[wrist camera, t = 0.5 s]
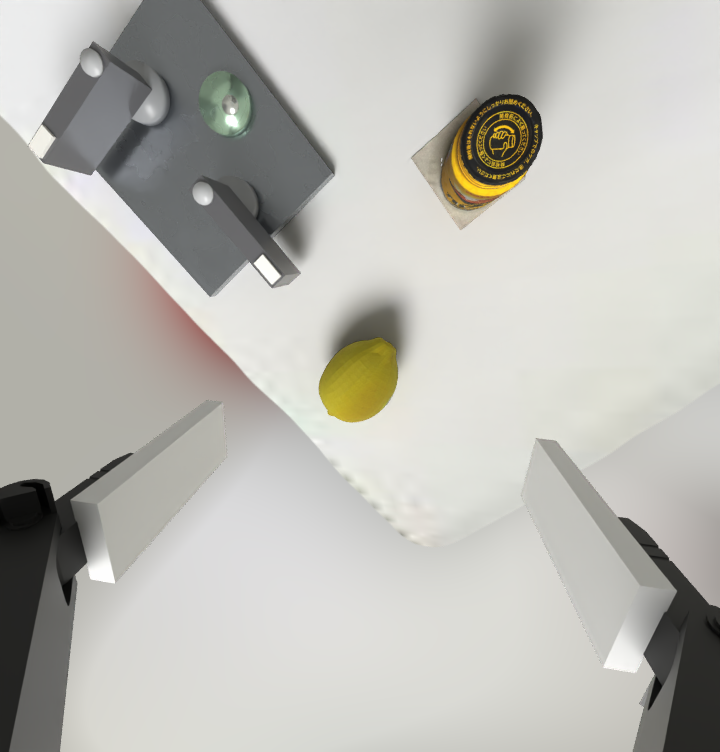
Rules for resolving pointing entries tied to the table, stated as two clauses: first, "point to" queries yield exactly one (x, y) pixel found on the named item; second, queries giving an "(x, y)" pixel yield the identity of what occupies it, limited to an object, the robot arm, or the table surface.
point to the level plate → (206, 140)
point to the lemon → (359, 380)
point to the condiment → (481, 155)
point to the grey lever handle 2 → (244, 226)
